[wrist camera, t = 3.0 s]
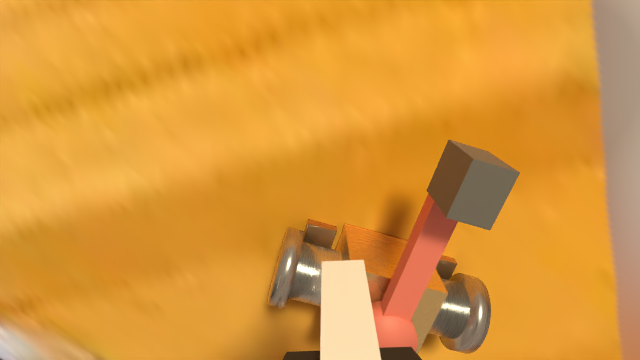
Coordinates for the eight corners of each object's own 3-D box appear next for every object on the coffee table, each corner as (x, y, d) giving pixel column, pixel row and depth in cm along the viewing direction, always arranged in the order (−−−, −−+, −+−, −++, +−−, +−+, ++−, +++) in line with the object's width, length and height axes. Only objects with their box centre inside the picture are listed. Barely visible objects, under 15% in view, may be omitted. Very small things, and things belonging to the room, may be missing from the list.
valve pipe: (271, 278, 33) (260, 332, 27) (292, 209, 30) (285, 251, 24) (440, 321, 34) (465, 381, 28) (472, 258, 32) (508, 309, 26)
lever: (399, 351, 27) (413, 404, 23) (346, 339, 27) (351, 391, 23) (496, 152, 22) (535, 177, 18) (432, 133, 21) (457, 153, 17)
